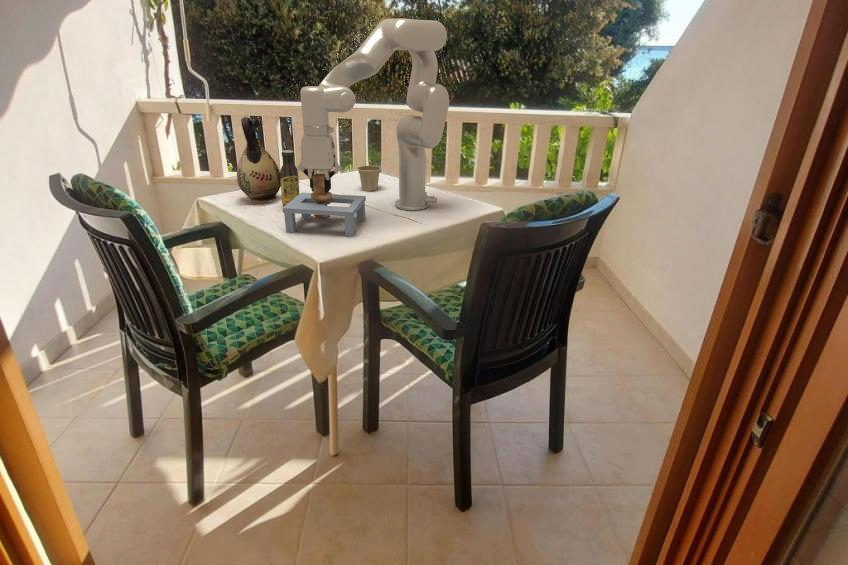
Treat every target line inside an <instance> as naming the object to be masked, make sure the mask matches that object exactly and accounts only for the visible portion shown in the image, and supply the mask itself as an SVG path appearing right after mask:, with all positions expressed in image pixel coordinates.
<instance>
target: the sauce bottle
mask: <svg viewBox="0 0 848 565" xmlns="http://www.w3.org/2000/svg"><path fill="white" fill-rule="evenodd" d="M294 156H295V152H294V150H292V149H290V150H288V149H287V150H285V149H284V150H282V151H281V157H282V165H281V168H280V169H279V171H280V176H281V178H280V181H281V187H280V191H281V192H280V193H281V203H282V208H283V207H284V206H285V205H287V204H288V203H289V202H290V201H292V200H293V199H294V198H295V197H297V196H298V195H299V194H300V193H301V192H300V182H299V181H300V180H299V169H298V168H297V167H296V165H295V158H294Z"/></svg>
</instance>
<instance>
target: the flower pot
mask: <svg viewBox="0 0 848 565" xmlns="http://www.w3.org/2000/svg"><path fill="white" fill-rule="evenodd" d="M381 170H382V167H381V166H378V165H360V166H358V167H357V171H358V173H359V178H360V184H361V189H362V191H365V192H373V191H374V192H375V191H377V190H378V188H379V178H380V172H381Z"/></svg>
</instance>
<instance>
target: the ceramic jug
mask: <svg viewBox="0 0 848 565" xmlns="http://www.w3.org/2000/svg"><path fill="white" fill-rule="evenodd" d="M240 121H241V128H242V131H243V134H244V138H245V142H246V145H245V148H244V150H243V152H242V154H241V156H240V159H239V160H238V164H237V167H236V168H237V169H236V181H237V185H238V187H239V188H240V190H241V191H242V192H243V194H245V195H246V196H247V197H248V199H249V200H250V201H251V202H252V203H255V204H263V203H268V202H274V201H275V200H276V199H277V196H276V195H278V193H279V191H280V190H281V181H280V178H281V176H280V169H279V166H278V164H277V163H276V161H275V159H274V158H273V156H271V154H270V153H269V152H268V151H267V149H265V148H264V147H263V145H261V143H260V141H259V139H258V136H257V128H258V127H260V122H259V120H258V119H256V118H255V119H254V118H253V119H252V118H251V117H248V116H243V117H242V118H241V120H240Z"/></svg>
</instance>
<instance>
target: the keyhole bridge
mask: <svg viewBox="0 0 848 565" xmlns="http://www.w3.org/2000/svg"><path fill="white" fill-rule="evenodd" d="M299 193H300V194H299V195H298V196H297V197H295V198H294V199H293V200H292V201H290V202H289V203H288V204H287V205H285V206H284V207H283V206H282V208H281V209H282V210H281V211H282V213H283V214H284V215H283V216H284V225H285V231H286V233H293V234H294V233H295V232H296V231H297V224H296V223H297V222H296V214H297V215H300V214H301V218H302V219H310V217H312V215H329V216H330V217H331V216H333V217H334V216H335V217H343V218H344V233H345V235H344V236H345V237H350V238H354V236H355V234H356V225H355V223H356V222H362V223H363V222H365V221H366V201H367V198H366V197H367V195H356V194H355V195H353V194H351V195H350V194H335V193H334V194H333V193H332V199H331V200H328V201H327V205H328V206H325V204H317V203H316V201H313V200H312V199H311V193H312V192H299ZM330 204H347V205H348V204H349V206H336V205H335V206H332V205H330ZM355 215H356V222H355Z"/></svg>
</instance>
